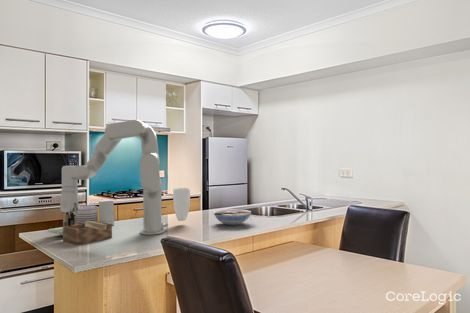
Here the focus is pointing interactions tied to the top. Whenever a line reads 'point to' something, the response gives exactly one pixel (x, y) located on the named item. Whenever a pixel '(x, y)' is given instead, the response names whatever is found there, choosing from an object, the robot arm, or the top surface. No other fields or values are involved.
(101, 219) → the skincare box
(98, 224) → the wooden bar
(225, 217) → the ramen bowl
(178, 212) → the cup
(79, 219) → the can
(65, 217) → the lid
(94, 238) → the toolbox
